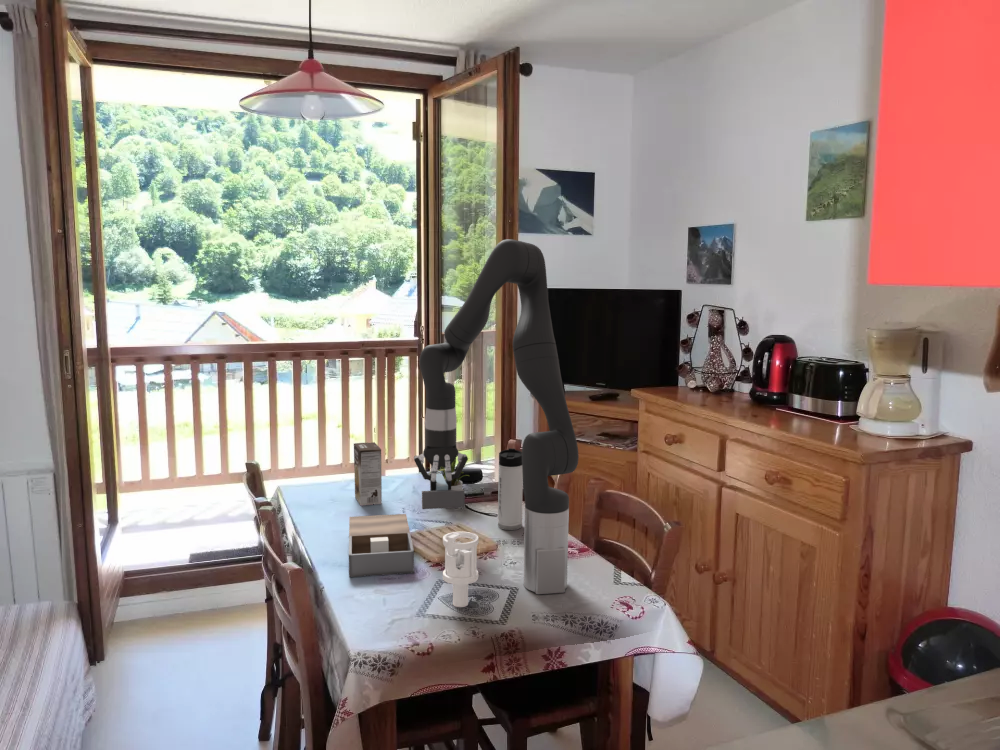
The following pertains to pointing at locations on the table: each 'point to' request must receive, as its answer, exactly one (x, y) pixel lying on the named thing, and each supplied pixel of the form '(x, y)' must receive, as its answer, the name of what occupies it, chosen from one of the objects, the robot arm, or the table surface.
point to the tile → (379, 544)
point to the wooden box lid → (379, 532)
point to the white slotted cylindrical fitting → (460, 565)
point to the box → (381, 562)
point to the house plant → (454, 483)
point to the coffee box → (368, 473)
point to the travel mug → (510, 489)
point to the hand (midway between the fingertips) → (440, 494)
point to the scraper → (442, 496)
